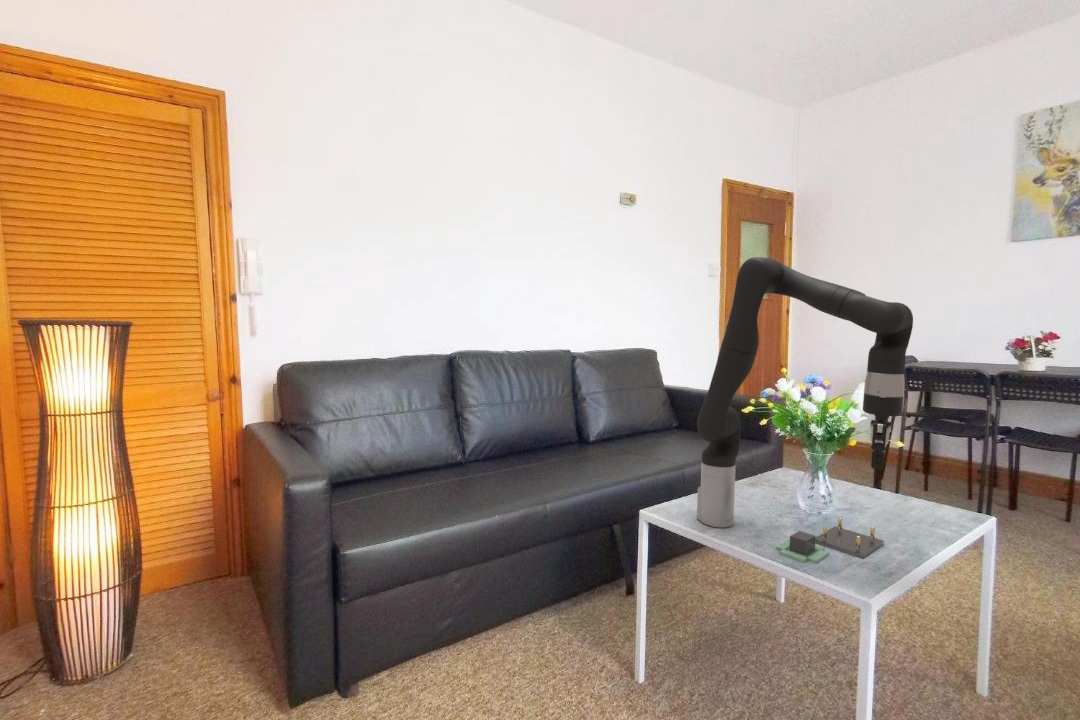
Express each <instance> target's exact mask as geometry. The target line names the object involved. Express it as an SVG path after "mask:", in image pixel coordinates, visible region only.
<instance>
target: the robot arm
mask: <svg viewBox="0 0 1080 720" xmlns="http://www.w3.org/2000/svg"><path fill="white" fill-rule="evenodd" d="M733 294H734V295H733V299H732V300H733V301H732V304H731V305H732V306H731V310H730V313H729V317H728V320H727V324H726V328H725V332H724V335H723V338H722V341H721V345H720V348H719V352H718V355H717V359H716V364H715V368H714V370H713V374H712V377H711V381H710V385H709V388H708V390H707V393H706V396H705V398H704V400H703V403H702V405H701V408H700V410H699V413H698V416H697V419H696V428H697V431H698V432H697V433H698V434H699V436H700V437H701V439H703V440H705V441H707V442H709V443H708V445H707V447H706V448H704V449H703V451H702V452H701V467H700V469H701V470H700V486H698V487H697V493H696V495H697V497H696V498H697V500H696V501H697V503H696V520H698V519H699V520H698V521H700V523H702V524H703V523H704V524H703V525H705V524H706V526H708V525H709V526H710V527H712V528H729V527H732V526H733V525H734V519H735V515H734V514H735V497H736V496H735V495H736V494H735V490H736V467H737V466H736V465H737V464H736V461H737V458H738V456H739V452H740V446H741V434H742V433H741V431H742V423H741V422H742V421H741V418H740V415H739V413H738V411H737V410H736V409H735V408H733V407H732V406H731V402H732V401H733V398H734V396H735V395H736V394H737V393H736V392H737V391H738V390H739V389H740V387H741V386H742V384H743V383H744V382H745V380H746V379H747V378H748V376H749V374H750V373H751V370H752V368H753V366H754V363H755V361H756V357H757V353H758V349H759V343H760V339H759V336H760V335H759V325H758V319H759V318H758V317H759V311H760V308H761V305H762V301H763V299H764V296H765V295H766V294H774V295H781V296H785V297H790V298H793V299H795V300H798V301H800V302H803V303H805V304H807V305H808V306H810V307H812V308H813V309H816V310H818V311H820V312H822V313H825V314H827V315H830V316H833V317H834V318H835V317H836V318H839V319H841V320H845V321H848V322H851V323H852V324H854V325H856V326H859V327H861V328H863V329H865V330H867V331H870V332H872V333H875V341H874V344H873V345H872V346H871V347H870V348H869V351H868V356H867V366H866V367H867V368H866V376H865V379H864V386H863V387H864V389H863V400H862V401H863V402H862V411H863V412H864V413H865V414H868V415H873V416H874V419H871V420H870V425H869V430H870V437H869V439H870V442H871V445H870V449H871V452H872V453H871V461H870V467H871V468H872V469H875V470H883V468H884V460H885V454H886V453H885V452H886V449H887V448H886V446H887V445H888V444H889V440H890V438H889V437H890V433H891V432H892V421H889V419H890V417H891V418H892V417H894V418H895V417H900V416H902V414H903V408H904V399H905V398H904V396H905V385H906V383H905V381H906V380H905V369H906V361H907V360H906V357H907V355H906V353H907V349H908V347H909V342H910V339H911V336H912V332H913V327H914V325H913V324H914V317H913V312H912V310H911V309H910V307H908V305H906V304H904V303H903V302H896V301H895V302H891V301H886V300H881V299H878V298H875V297H871V296H868V295H866V294H865V293H864V292H861V291H859V290H856V289H853V288H851V287H846V286H843V285H839V284H837V283H834V282H831V281H830V282H829V281H826V280H824V279H823V280H822V279H819V278H815V277H811V276H809V275H807V274H804V273H802V272H800V271H797V270H795V269H793V268H792V267H789V266H787V265H786V264H784V263H782V262H780V261H778V260H777V259H775V258H770V257H763V256H755V257H750V258H748V259H746V260H745V261H744V262H743V263H742V264H741V266H740V267H739V270H738V274H737V277H736V281H735V288H734V293H733Z"/></svg>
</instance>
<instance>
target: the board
mask: <svg viewBox="0 0 1080 720" xmlns="http://www.w3.org/2000/svg"><path fill="white" fill-rule="evenodd" d="M816 537H817V536H816V535H814V534H811V533H807V532H805V531H801V530H799V531H797V532H795V533H792V534H791V535H789V539H788V540H785V541H784V542H781V543H780V544H778V545H776V546H775V550H776V551H779V552H778V555H779V556H783V557H786V558H788V559H792V560H794V561H797V562H800V563H801V564H804V563H806V562H811V563H813V564H818V563H820V562H822V560H824V559H826V558H828V557H829V556H830V552H828V551H826V550H825V549H826V548H825V546H822V545H819V544H816V543H815V539H816Z"/></svg>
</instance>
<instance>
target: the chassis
mask: <svg viewBox="0 0 1080 720" xmlns="http://www.w3.org/2000/svg"><path fill="white" fill-rule="evenodd" d="M875 528H876V527H874V526H871V527H870V535H865V534H862V533H860V532H856V531H853V530H849V529H846V528H843V518H841V517H839V518H838V519H837V526H836V525H835V526H833V527H832V528H830V529H828V527H827V526H826V525H823V527H822V533H821V534H819V535H817V536H816V539H815V545H819V546H822V547H826V548H829V549H833V550H835V551H839V552H842V553H844V554H848V555H851V556H855V557H857V558H859V559H865V558H866V557H868V556H869V555H870V554H872V553H874V552H875V551H876V550H877V549H879V548H881V547H882V546H884V543H885V541H884V540H883V539H879V538H876V537H875V535H876V534H875V532H876V529H875Z"/></svg>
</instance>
